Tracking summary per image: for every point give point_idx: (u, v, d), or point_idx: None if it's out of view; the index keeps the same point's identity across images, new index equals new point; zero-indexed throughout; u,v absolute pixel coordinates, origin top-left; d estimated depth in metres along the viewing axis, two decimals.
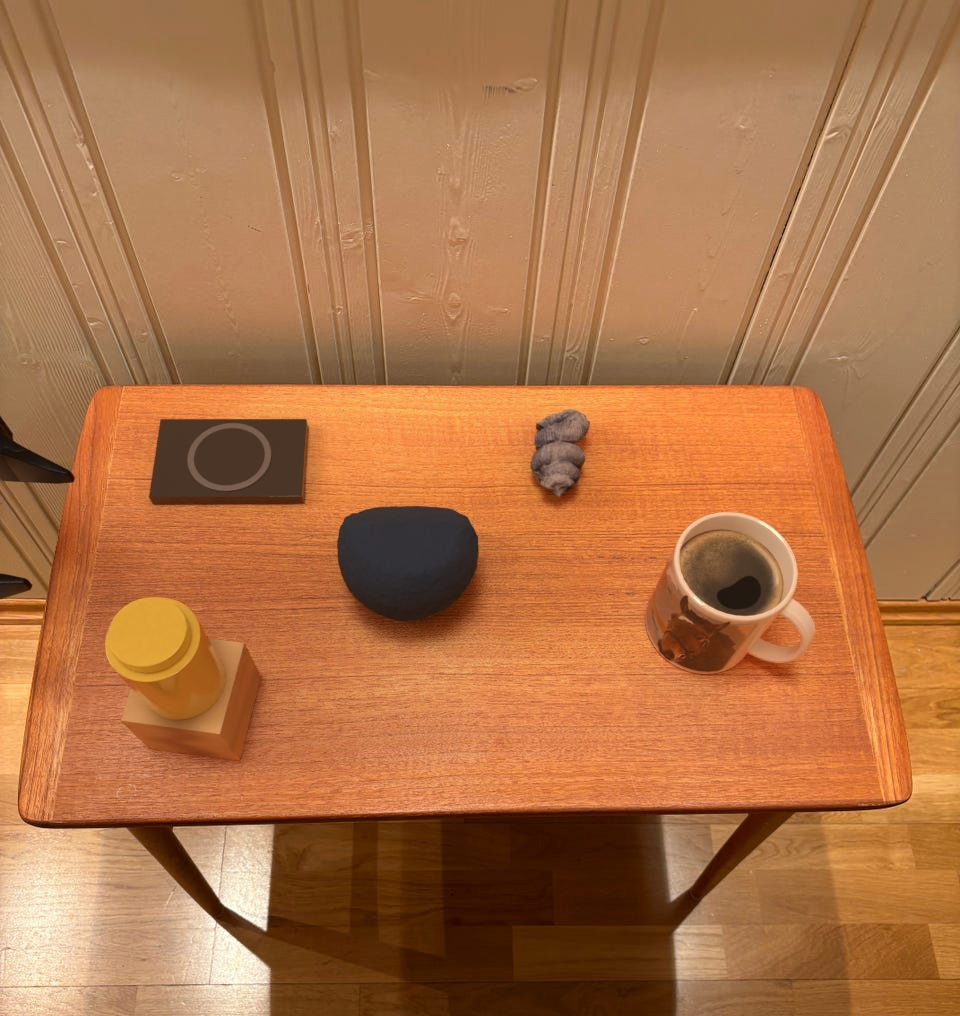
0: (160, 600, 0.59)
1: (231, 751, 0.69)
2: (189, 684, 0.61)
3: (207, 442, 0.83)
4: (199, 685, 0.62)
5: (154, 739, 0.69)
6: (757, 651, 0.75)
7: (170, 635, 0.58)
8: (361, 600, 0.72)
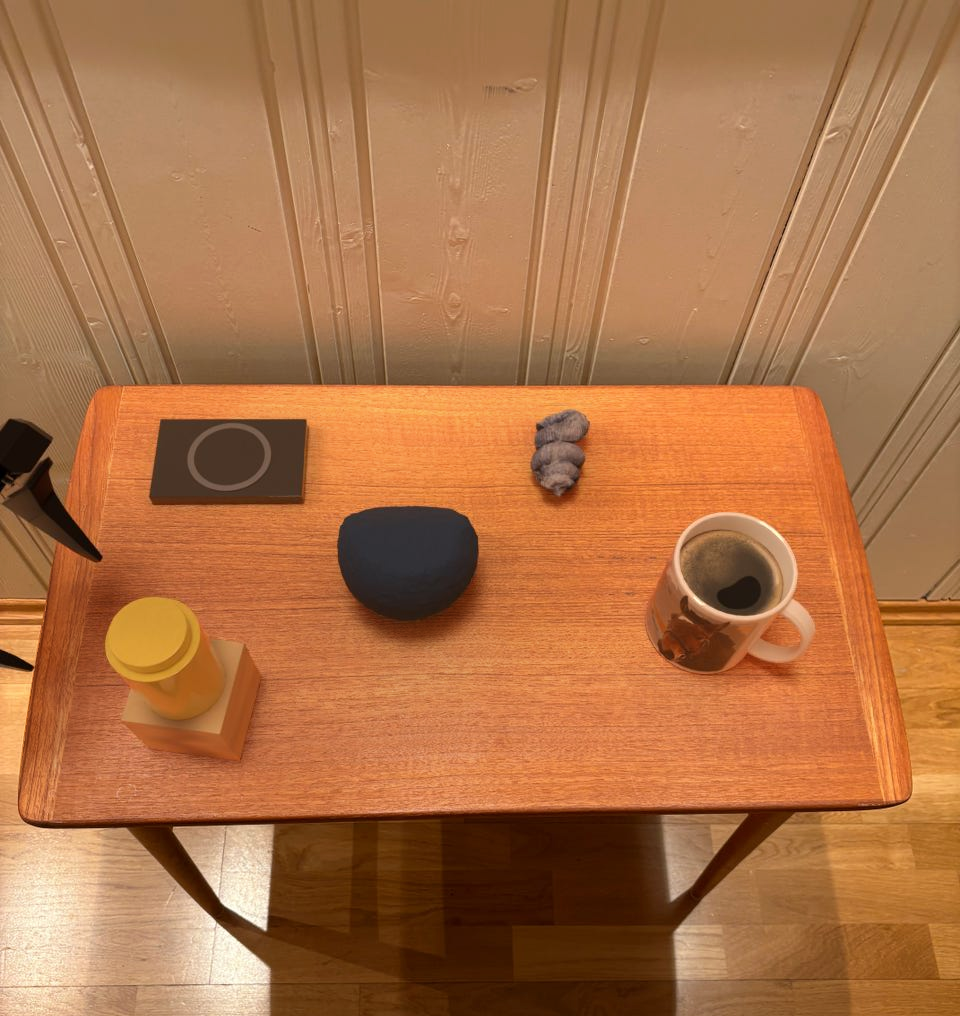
0: (160, 600, 0.59)
1: (231, 751, 0.69)
2: (189, 684, 0.61)
3: (207, 442, 0.83)
4: (199, 685, 0.62)
5: (154, 739, 0.69)
6: (757, 651, 0.75)
7: (170, 635, 0.58)
8: (361, 600, 0.72)
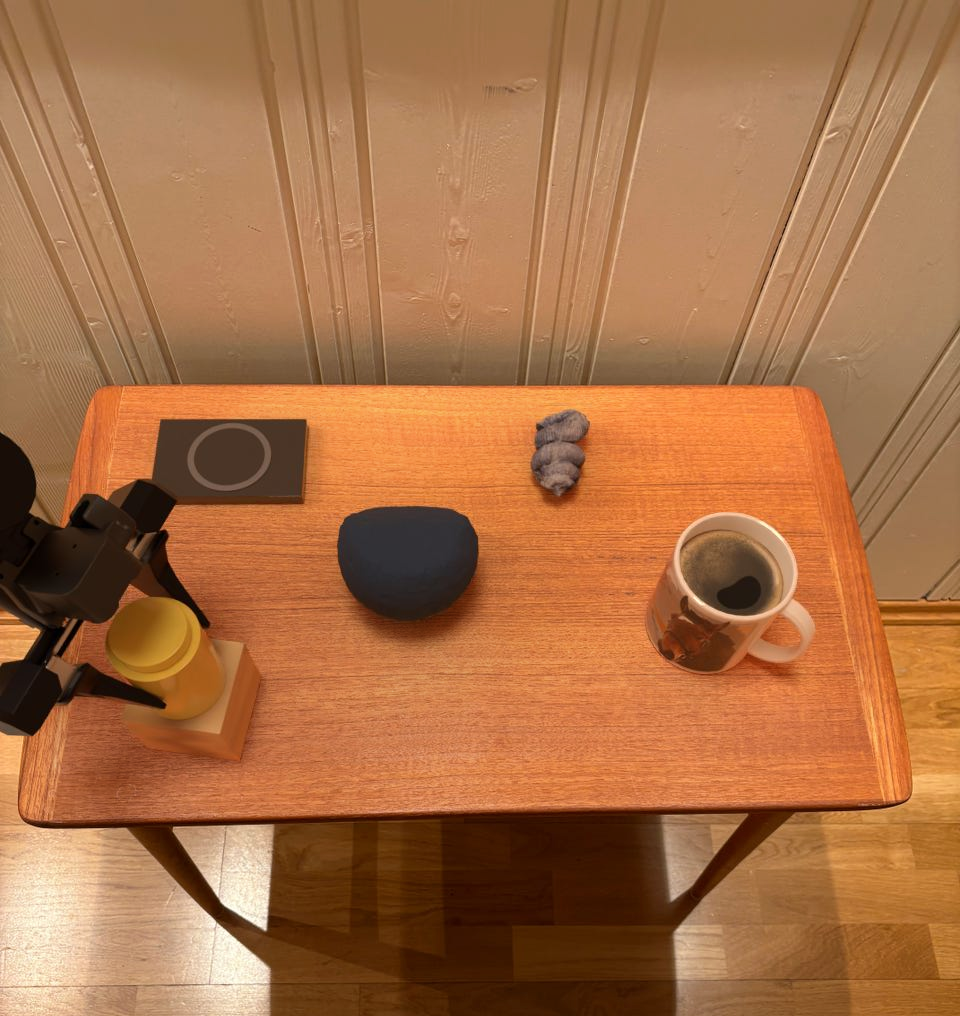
0: (160, 600, 0.59)
1: (231, 751, 0.69)
2: (189, 684, 0.61)
3: (207, 442, 0.83)
4: (199, 685, 0.62)
5: (154, 739, 0.69)
6: (757, 651, 0.75)
7: (170, 635, 0.58)
8: (361, 600, 0.72)
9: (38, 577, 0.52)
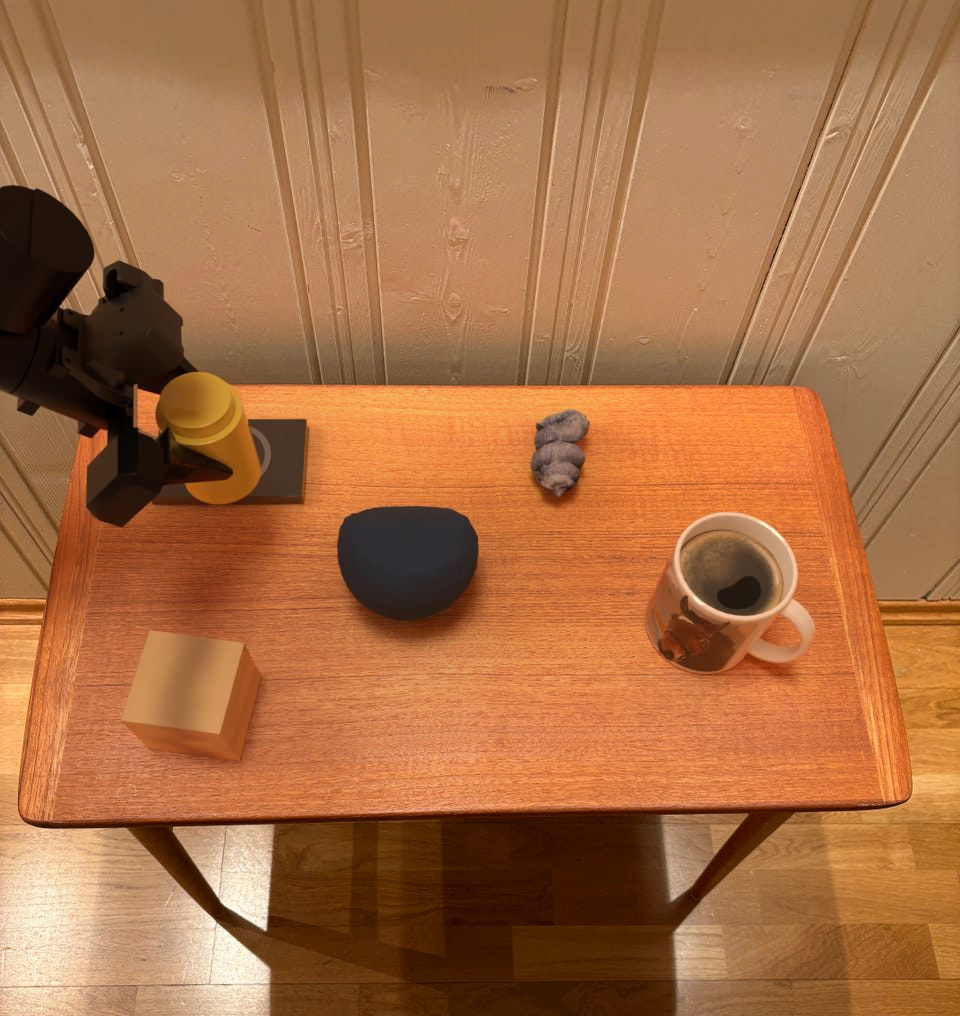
0: (190, 374, 0.65)
1: (231, 751, 0.69)
2: (244, 443, 0.67)
3: None
4: (250, 447, 0.68)
5: (154, 739, 0.69)
6: (757, 651, 0.75)
7: (217, 394, 0.64)
8: (361, 600, 0.72)
9: (104, 346, 0.56)
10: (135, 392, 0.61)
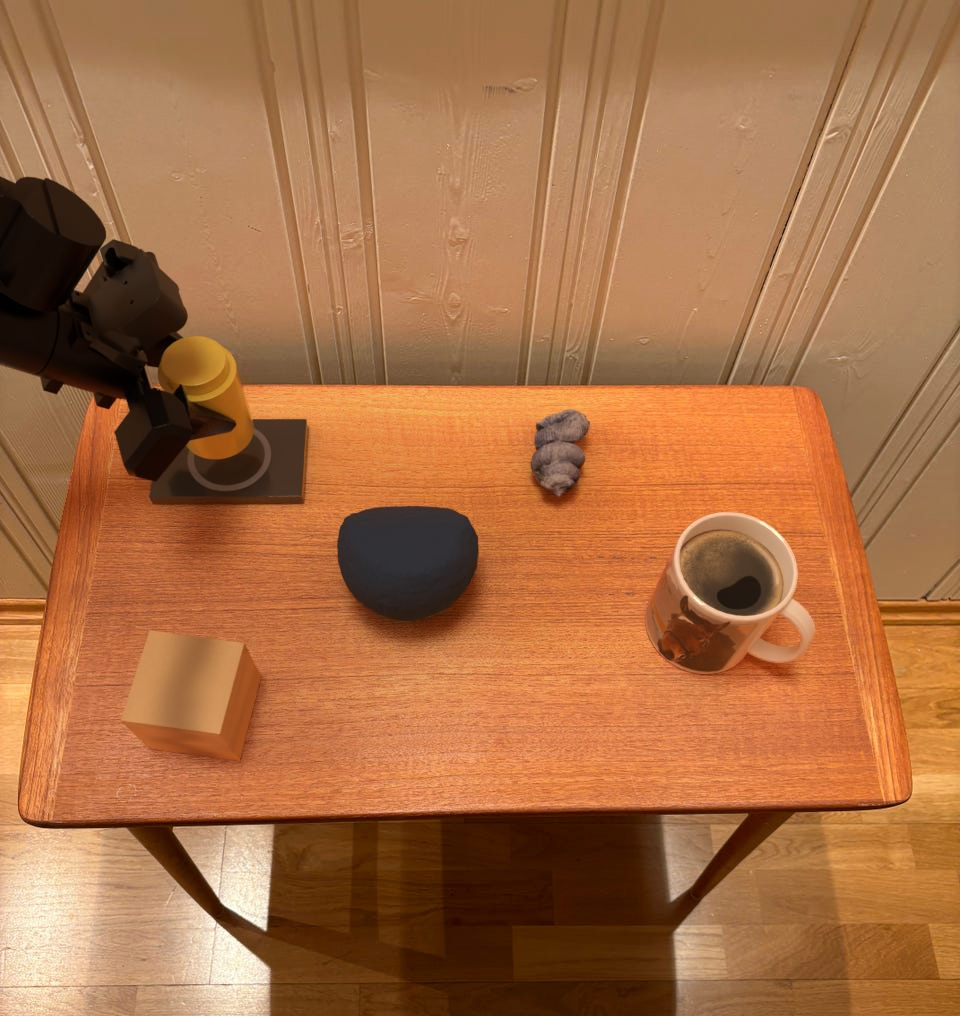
0: (182, 339, 0.71)
1: (231, 751, 0.69)
2: (241, 395, 0.74)
3: None
4: (245, 399, 0.75)
5: (154, 739, 0.69)
6: (757, 651, 0.75)
7: (212, 353, 0.71)
8: (361, 600, 0.72)
9: (118, 316, 0.63)
10: None
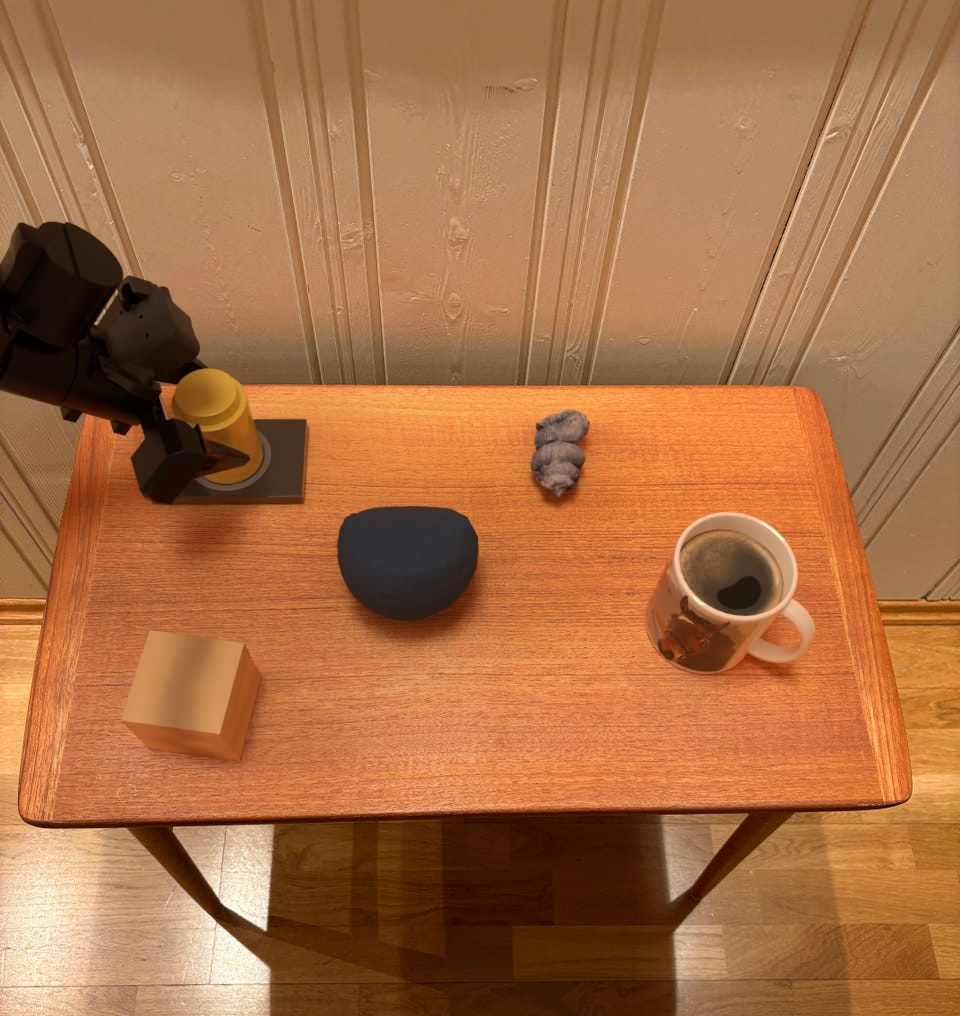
0: (195, 372, 0.75)
1: (231, 751, 0.69)
2: (251, 424, 0.77)
3: None
4: (254, 427, 0.79)
5: (154, 739, 0.69)
6: (757, 651, 0.75)
7: (223, 384, 0.74)
8: (361, 600, 0.72)
9: (134, 349, 0.66)
10: None
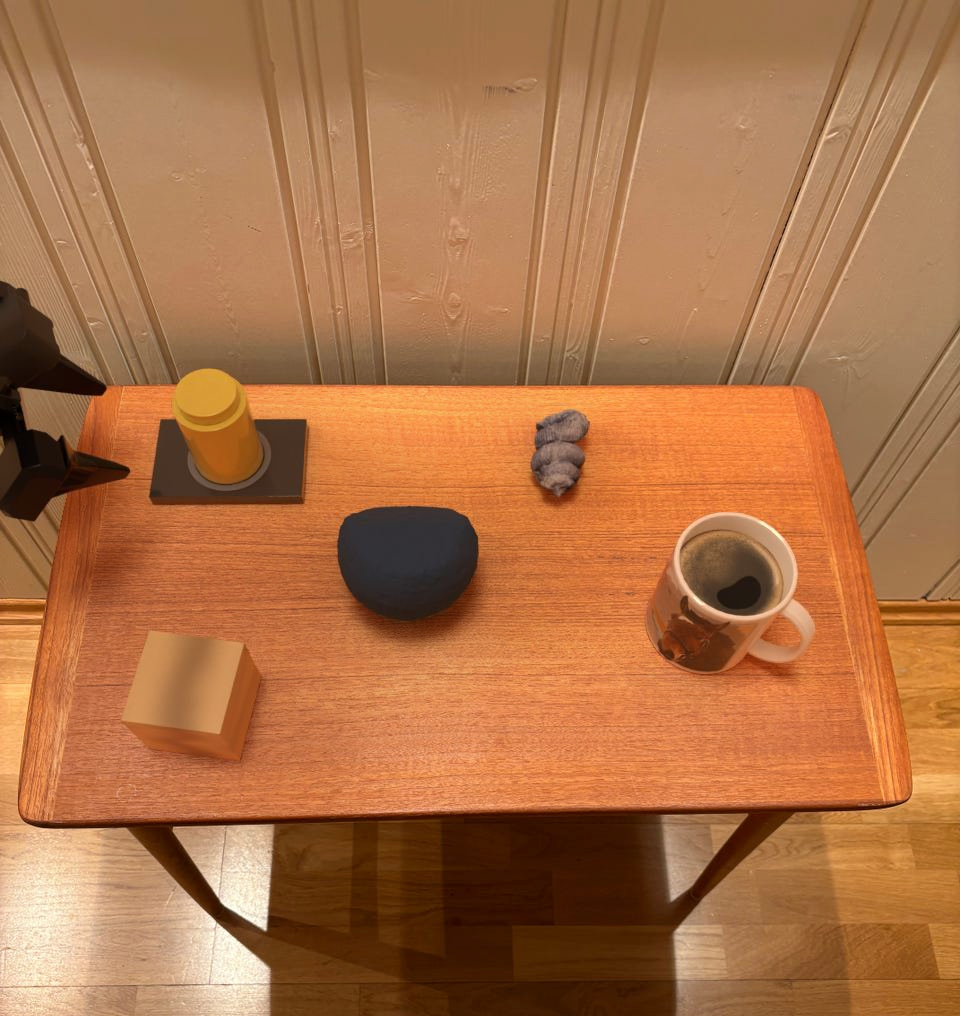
0: (195, 372, 0.75)
1: (231, 751, 0.69)
2: (251, 424, 0.77)
3: None
4: (254, 427, 0.79)
5: (154, 739, 0.69)
6: (757, 651, 0.75)
7: (223, 384, 0.74)
8: (361, 600, 0.72)
9: None
10: (21, 396, 0.66)
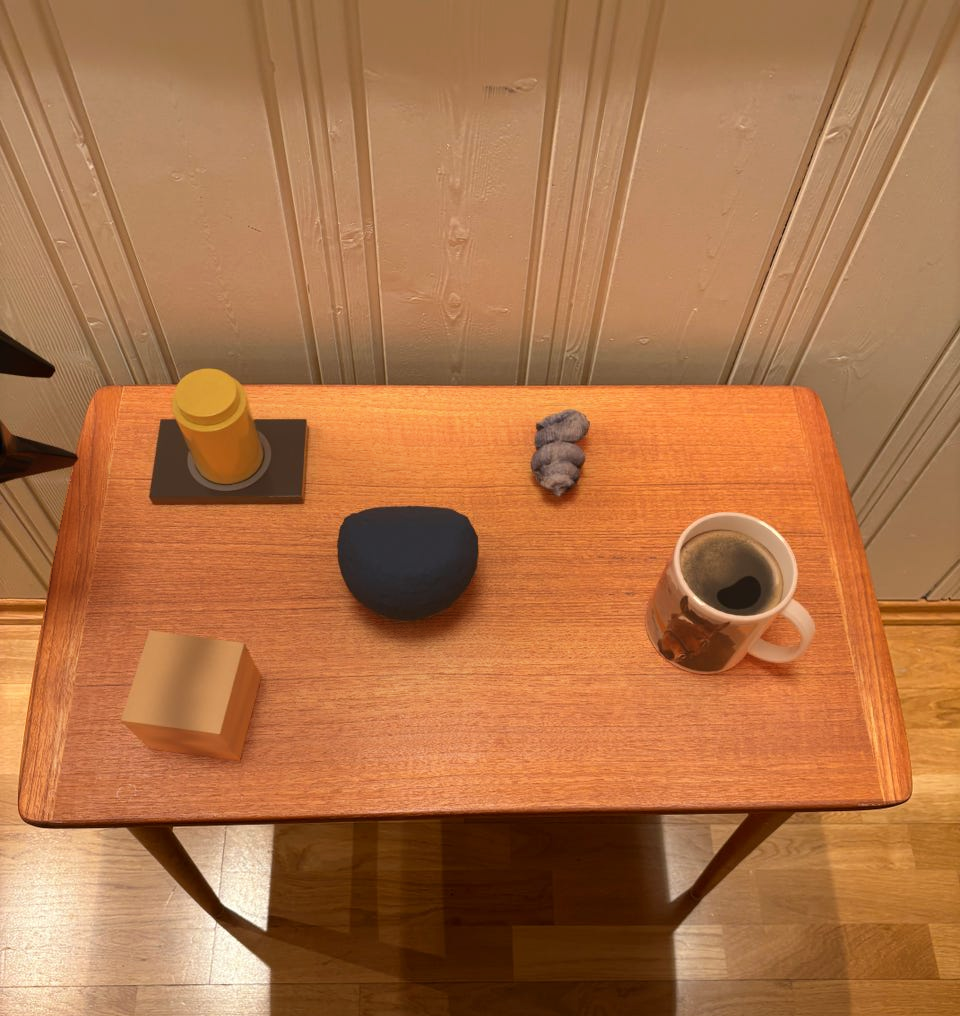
0: (195, 372, 0.75)
1: (231, 751, 0.69)
2: (251, 424, 0.77)
3: None
4: (254, 427, 0.79)
5: (154, 739, 0.69)
6: (757, 651, 0.75)
7: (223, 384, 0.74)
8: (361, 600, 0.72)
9: None
10: None
